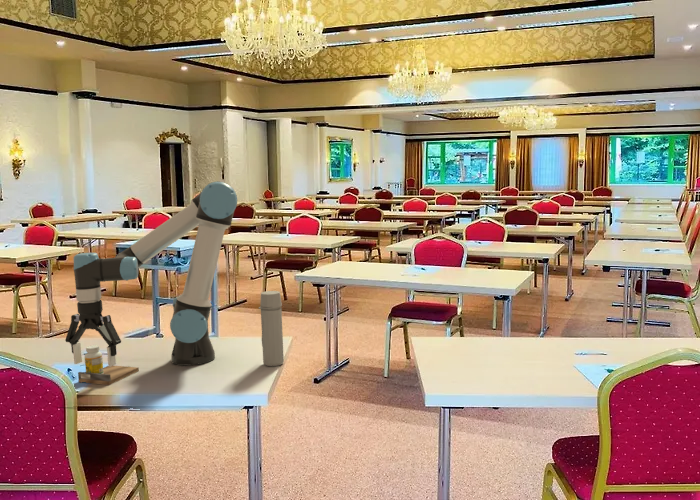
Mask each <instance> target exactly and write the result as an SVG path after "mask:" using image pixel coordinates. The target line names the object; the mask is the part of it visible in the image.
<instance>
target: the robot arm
mask: <svg viewBox="0 0 700 500" xmlns="http://www.w3.org/2000/svg"><path fill="white" fill-rule="evenodd" d="M237 205H238V195H237V193H236V191H235V189H234V187H232V186H231V185H230V184H228V183H226V182H224V181H213V182H210V183H208V184H207V185H205V187H203V189H202V190H201V192H199V194H197V195H196V196H195V197H194V198H192V199H191V200H190V204H188V205H187V206H186V207H184V208H183V209H182V210H180V211H178V212H177V213H175V214H174V215H173V216H172V217H170V218H168V219H167V220H166V221H164V222H163V223H162V224H160V225H158V226H157V227H155V229H154V228H153V230H151V231H150V232H149V233H147V234H145V235H144V236H142V237H141V238H140V239H139V240H137V241H136V242H134V243H133V244H131V245H130V246H129V247H127V248H126V249H124V250H123V251H121V252H119V253H118V254H117V255H115V256H114V257H108V258H101V257H100V258H99V255H98V253H97V252H82V253H77V254H75V255H73V275H74V283H75V295H76V296H75V297H76V301H77V303H76V305H77V313H76V314H72V315H71V317H70V324H69V328H68V330H67V334H66V337H65V340H64V341H65V342H66V343H69V344H70V346H71V353H72V355H73V363H74V365H78V364H80V363H82V362H83V357H82V347H81V342H80V340H81V337H82V336H83V334H84V333H85V331H86V330H95V331H96V332H98V333H99V335H100V336H101V337H102V339H103V340H104V342H105V343H106V344H107V346H106V352H107V355H106V356H107V364H108V365H107V366H108V367H111V366H116V364H117V363H116V362H117V361H116V359H117V358H116V356H117V345H119V344H121V343H122V340H121V338H120V335H119V334H118V332H117V330H116V328H115V326H114V324H113V321H112V317H111V315H110V314H108V315H104V316H103V315H102V313H103V301H102V300H101V299H102V288H101V282H102V283H103V282H116V281H117V282H118V281H119V282H120V281H127V282H128V281H130V280H132V281H133V280H136V279H137V278H139V268H140V267H142V266H143V265H144V264H145V263H147V262H149V261H150V260H151V259H153V258H154V257H155V256H157V255H158V254H159V253H161V252H163V251H164V250H165V249H167V248H168V247H170V246H171V245H172V244H174V243H175V242H177V241H178V240H180V239H181V238H183V237H184V236H185V235H187V234H188V233H190V232H191V231H193V230H194V229H195V228H197V231H196V236H195V240H194V245H193V248H192V253H191V258H190V262H189V265H188V270H187V274H186V278H185V282H184V287H183V291H182V293H181V294H179V296H177V297H175V298H173V299H172V300H173V301H172V308H173V314H172V317H171V320H170V323H169V328H170V332H171V334H172V335H173V337H174V338H175V339H174V343H173V348H172V352H171V362H172V364H175V365H176V366H177V365H178V366H196V365H202V364H206V363H210V362H211V361H213V360H215V358H216V353H215V352H216V351H215V349H214V346H213V344H212V341H211V339H210V336H209V335H210V334H209V333H210V331H209V317H210V314H211V311H212V310H211V309H212V305H213V304H212V303H211V301H210V299H209V298H210V293H211V289H212V286H213V282H214V278H215V273H216V269H217V264H218V260H219V257H220V253H221V247H222V243H223V239H224V235H225V231H226V230H227V229H228V228H230V227H231V225H232V222H233V217H234V214H235V210H236V208H237Z"/></svg>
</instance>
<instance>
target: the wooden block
mask: <svg viewBox="0 0 700 500" xmlns="http://www.w3.org/2000/svg"><path fill="white" fill-rule="evenodd" d="M103 371H104V373H103V374H98V373H87V372H86V371H78V372H77V377H78V383H82V382H86V384H95V385H103V386H104V385H105V386H110V385H112V384H115V383H116V382H119V381H121V380H123V379H125V378H128V377H129V376H132V375H134V374H135V373H137V372H139V367H135V366H124V365H113V366H111V367H108V365H107V366H103Z"/></svg>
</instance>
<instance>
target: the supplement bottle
mask: <svg viewBox="0 0 700 500" xmlns="http://www.w3.org/2000/svg"><path fill="white" fill-rule="evenodd" d="M85 351H86V353H85V354H84V364H85V372H87V373H98V374H103V373H104V371H103V368H104V365H103V364H104V362H103V353H102V352H101V351H100V345H96V344H95V345H94V344H93V345H89V346H86V347H85Z"/></svg>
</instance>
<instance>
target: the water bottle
mask: <svg viewBox="0 0 700 500" xmlns="http://www.w3.org/2000/svg"><path fill="white" fill-rule="evenodd" d="M282 305H283V303H282V297H281V291H277V290H267V291H262V292H261V293H260V306H259V307H258V309H260V320H261V346H262V360H263V361H262V363H263V364H264V366H266V367H278V366H280V365H283V363H284V362H285V361H284V360H285V359H284V338H283V337H284V335H283V334H284V333H283V313H282Z"/></svg>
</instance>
